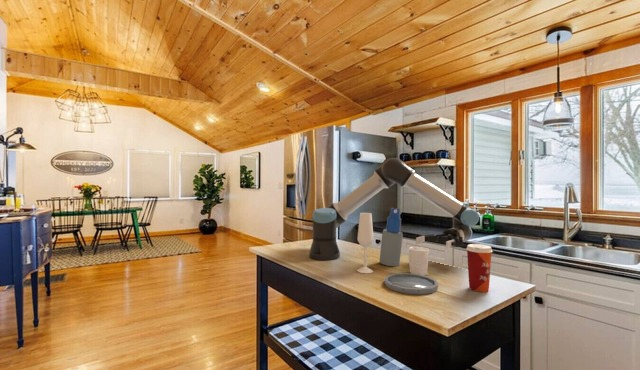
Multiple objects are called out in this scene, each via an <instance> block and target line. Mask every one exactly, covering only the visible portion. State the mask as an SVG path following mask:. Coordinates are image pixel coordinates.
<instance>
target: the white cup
mask: <svg viewBox="0 0 640 370" xmlns="http://www.w3.org/2000/svg"><path fill="white" fill-rule="evenodd" d="M429 255H430V248H427V247H425V246H410V247H408V260H409V261H408V263H409V272H410V273H411V274H419V275H424V276H428V271H429V270H428V269H429V257H430V256H429Z"/></svg>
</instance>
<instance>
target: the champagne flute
mask: <svg viewBox="0 0 640 370" xmlns="http://www.w3.org/2000/svg"><path fill="white" fill-rule="evenodd" d="M358 219H359V221H358V228H357V231H358V232H357V242H358V243H359V245H360V246H361V247H362V248H363V266H362V267H360V268H358V269H357V270H356V271H357V272H358V273H361V274H371V273H374V271H373V270H372V268H370V267H368V265H367V260H368V259H367V257H368V252H367V251H368V250H367V249H368V247H370V246H371V245H372V244H373V242H374V239H375V237H374V229H373V228H374V227H373V214H372V212H360V213H359V218H358Z"/></svg>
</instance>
